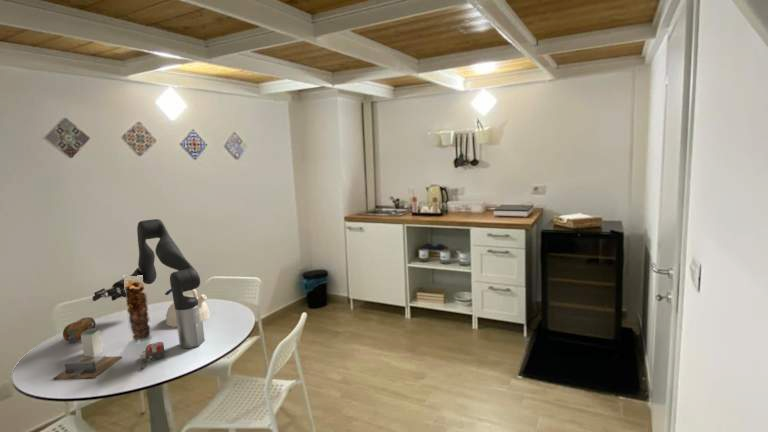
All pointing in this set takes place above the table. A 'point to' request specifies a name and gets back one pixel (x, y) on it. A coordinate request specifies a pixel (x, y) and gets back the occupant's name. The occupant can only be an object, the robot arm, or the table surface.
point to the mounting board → (99, 369)
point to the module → (91, 342)
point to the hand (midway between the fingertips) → (102, 298)
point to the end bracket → (80, 367)
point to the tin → (78, 329)
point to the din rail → (96, 359)
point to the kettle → (202, 305)
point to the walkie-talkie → (152, 353)
